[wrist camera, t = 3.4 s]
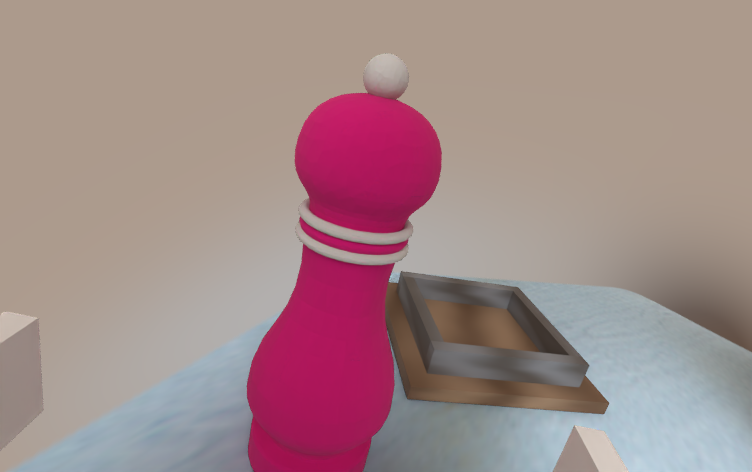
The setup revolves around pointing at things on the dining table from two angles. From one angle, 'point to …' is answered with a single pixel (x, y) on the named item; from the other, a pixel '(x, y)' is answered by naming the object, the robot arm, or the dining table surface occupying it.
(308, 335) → the pepper mill
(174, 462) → the dining table surface
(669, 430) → the dining table surface
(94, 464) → the dining table surface
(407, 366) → the cruet board
